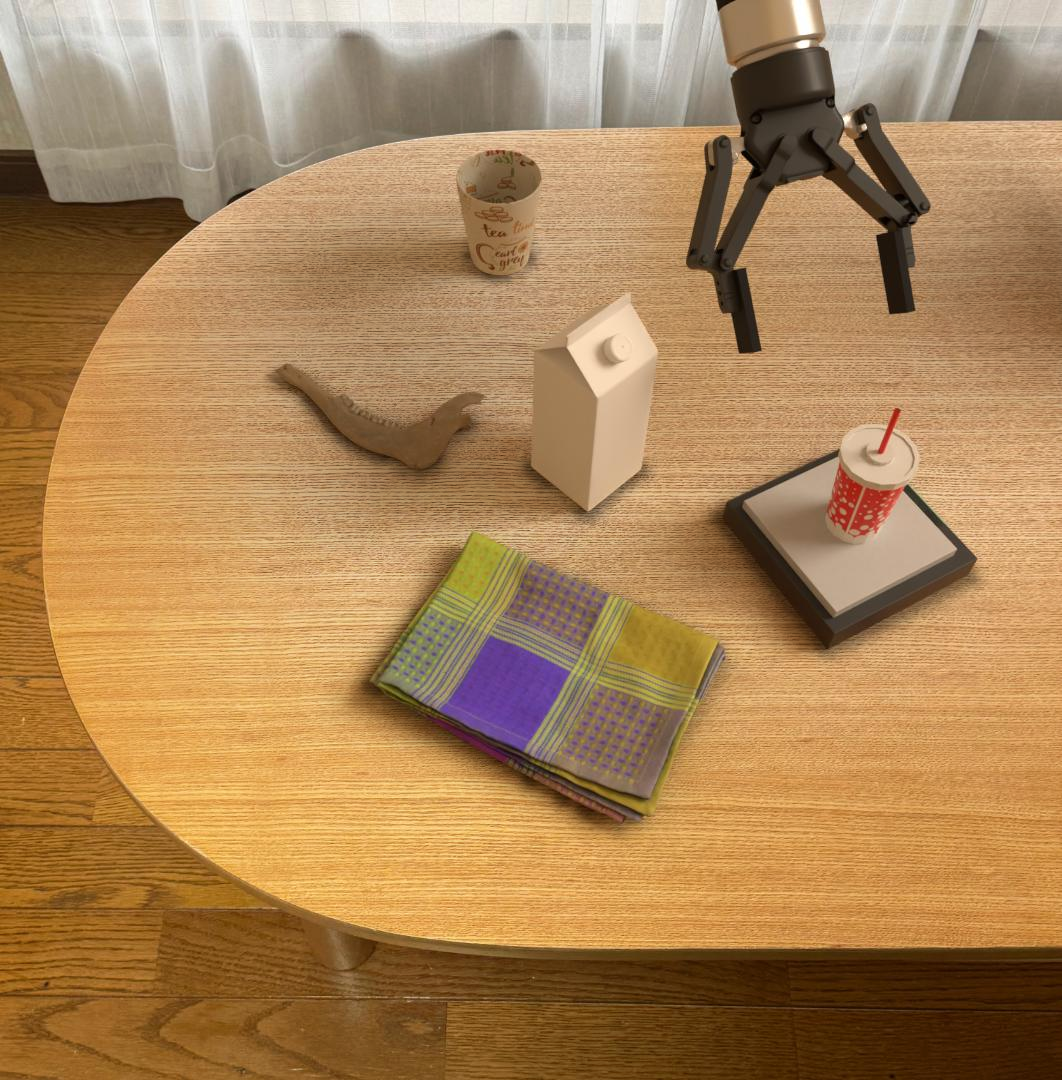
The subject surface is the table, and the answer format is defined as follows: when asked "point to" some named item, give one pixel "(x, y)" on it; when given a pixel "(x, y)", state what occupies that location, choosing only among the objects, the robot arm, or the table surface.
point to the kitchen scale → (844, 552)
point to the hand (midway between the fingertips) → (827, 332)
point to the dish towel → (553, 677)
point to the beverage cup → (869, 479)
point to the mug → (499, 208)
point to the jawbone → (389, 423)
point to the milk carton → (593, 402)
